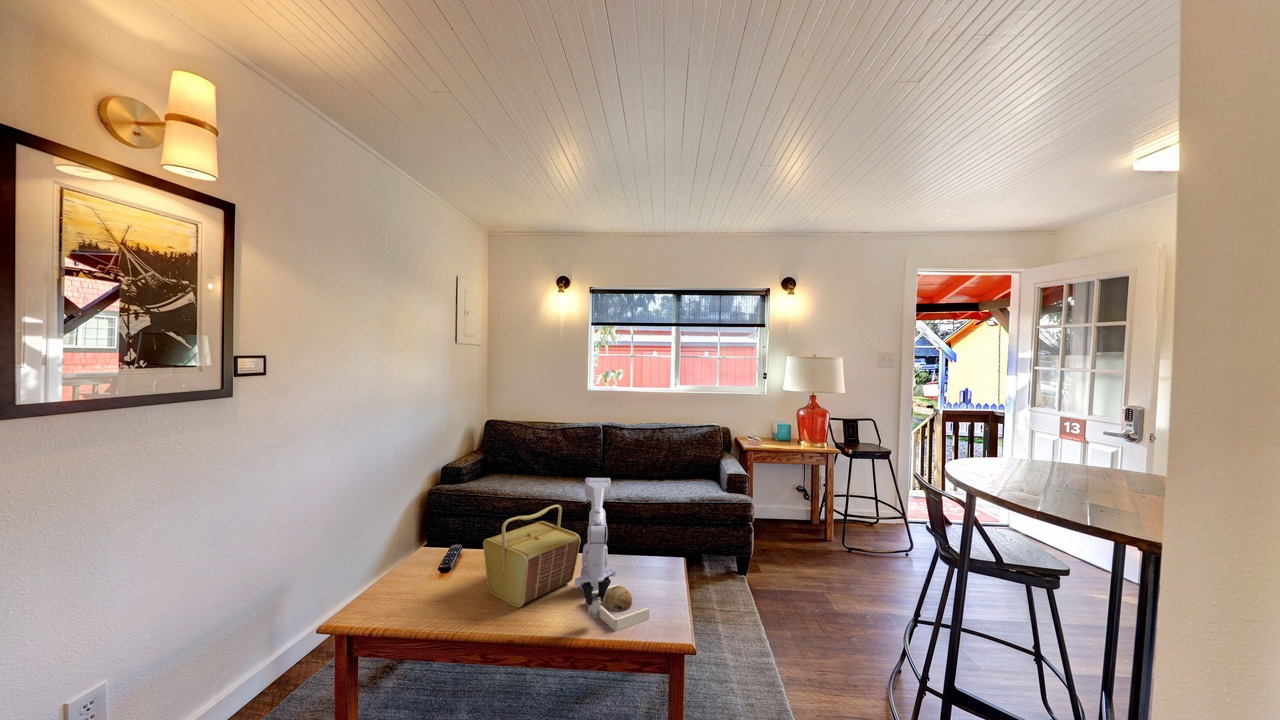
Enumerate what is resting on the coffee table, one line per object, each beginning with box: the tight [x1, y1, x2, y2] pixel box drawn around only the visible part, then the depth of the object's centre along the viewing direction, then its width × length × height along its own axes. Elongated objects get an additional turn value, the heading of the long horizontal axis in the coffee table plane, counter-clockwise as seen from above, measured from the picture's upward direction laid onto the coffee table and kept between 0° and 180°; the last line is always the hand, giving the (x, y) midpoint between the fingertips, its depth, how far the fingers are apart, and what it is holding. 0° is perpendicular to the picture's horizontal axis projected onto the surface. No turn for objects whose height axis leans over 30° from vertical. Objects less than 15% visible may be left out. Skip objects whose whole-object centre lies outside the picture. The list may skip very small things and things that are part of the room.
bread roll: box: [604, 585, 633, 612], centre depth 167 cm, size 10×10×8 cm
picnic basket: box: [482, 504, 582, 609], centre depth 176 cm, size 29×26×30 cm
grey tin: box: [587, 593, 602, 618], centre depth 152 cm, size 4×4×6 cm
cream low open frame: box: [585, 583, 650, 632], centre depth 163 cm, size 20×14×4 cm
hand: (594, 601), depth 153 cm, fingers closed on grey tin, 4 cm apart
